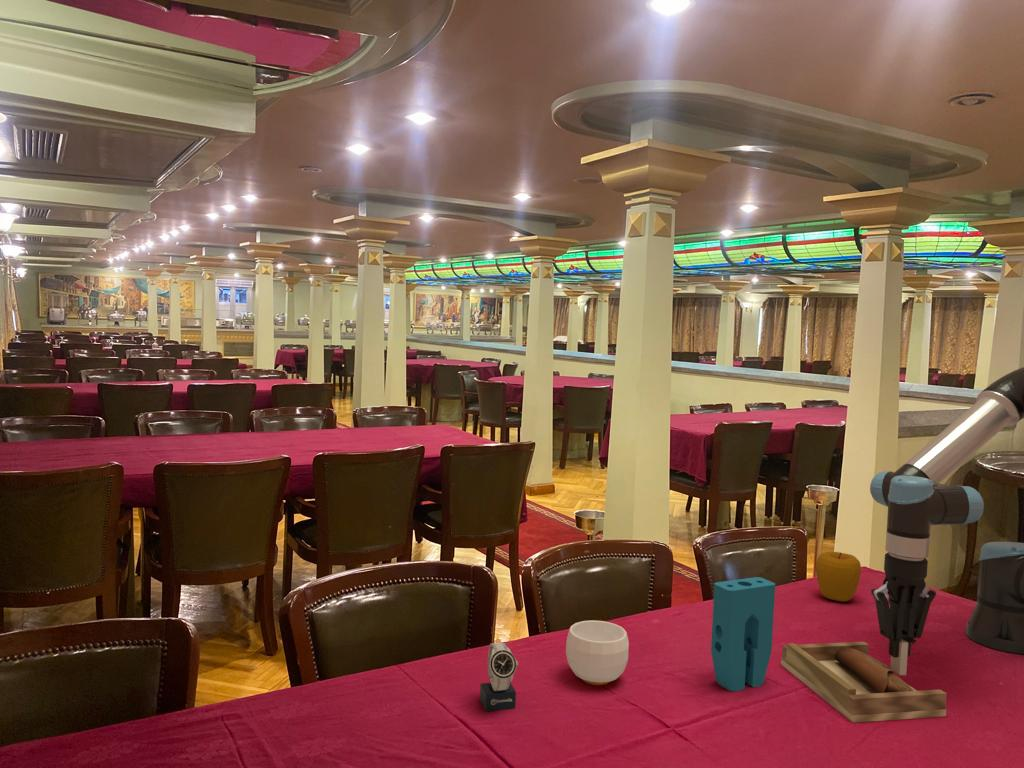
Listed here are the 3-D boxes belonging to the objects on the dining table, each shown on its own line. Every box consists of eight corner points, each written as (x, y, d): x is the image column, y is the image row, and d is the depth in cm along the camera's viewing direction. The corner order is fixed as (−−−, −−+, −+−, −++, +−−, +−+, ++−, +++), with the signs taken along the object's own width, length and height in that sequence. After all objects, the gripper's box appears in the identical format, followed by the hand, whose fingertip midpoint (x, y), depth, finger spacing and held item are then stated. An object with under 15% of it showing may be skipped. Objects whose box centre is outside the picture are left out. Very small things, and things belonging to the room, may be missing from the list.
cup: (639, 679, 148) (642, 631, 148) (602, 700, 139) (605, 649, 139) (589, 659, 157) (591, 614, 156) (552, 678, 148) (553, 630, 147)
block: (754, 672, 153) (759, 576, 152) (772, 683, 149) (777, 584, 147) (707, 682, 148) (712, 583, 147) (724, 693, 144) (729, 591, 142)
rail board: (862, 660, 161) (863, 636, 161) (945, 716, 137) (947, 688, 137) (781, 664, 158) (782, 640, 157) (852, 722, 134) (854, 694, 134)
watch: (488, 717, 132) (490, 655, 131) (477, 695, 139) (479, 637, 139) (518, 713, 133) (521, 653, 133) (506, 692, 141) (508, 635, 140)
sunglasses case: (927, 700, 139) (911, 671, 139) (895, 720, 139) (879, 690, 138) (872, 659, 157) (858, 633, 157) (843, 676, 157) (829, 650, 156)
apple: (819, 604, 195) (822, 556, 194) (810, 591, 206) (812, 544, 205) (864, 608, 193) (867, 559, 193) (852, 594, 204) (855, 548, 203)
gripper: (921, 549, 152) (913, 662, 154) (864, 550, 150) (856, 665, 151) (949, 560, 145) (940, 679, 146) (889, 561, 143) (881, 682, 144)
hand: (898, 672), depth 149 cm, fingers closed
